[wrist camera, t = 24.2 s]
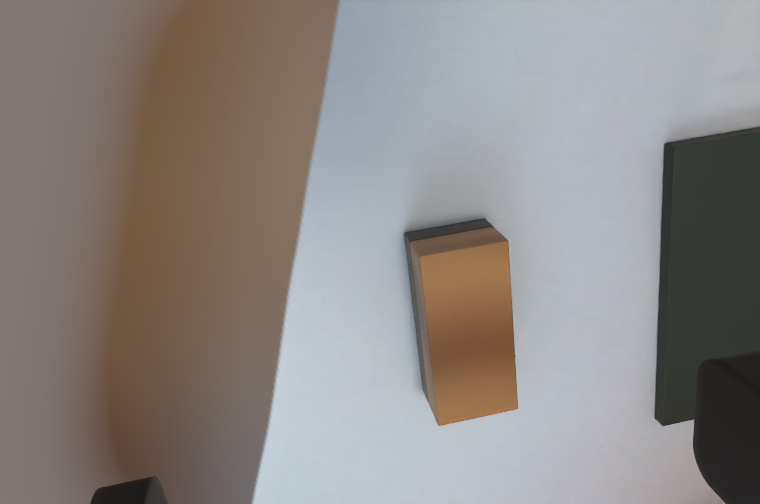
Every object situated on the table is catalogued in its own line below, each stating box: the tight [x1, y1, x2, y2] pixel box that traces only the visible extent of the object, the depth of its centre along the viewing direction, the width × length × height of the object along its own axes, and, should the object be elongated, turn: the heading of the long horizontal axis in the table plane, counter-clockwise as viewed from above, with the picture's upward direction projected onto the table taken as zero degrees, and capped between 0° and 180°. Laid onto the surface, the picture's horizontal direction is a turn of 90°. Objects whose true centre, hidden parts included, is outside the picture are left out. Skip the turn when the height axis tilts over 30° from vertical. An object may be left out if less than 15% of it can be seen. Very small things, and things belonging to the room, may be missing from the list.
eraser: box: [404, 219, 518, 426], centre depth 39 cm, size 11×5×4 cm, turn 7°
